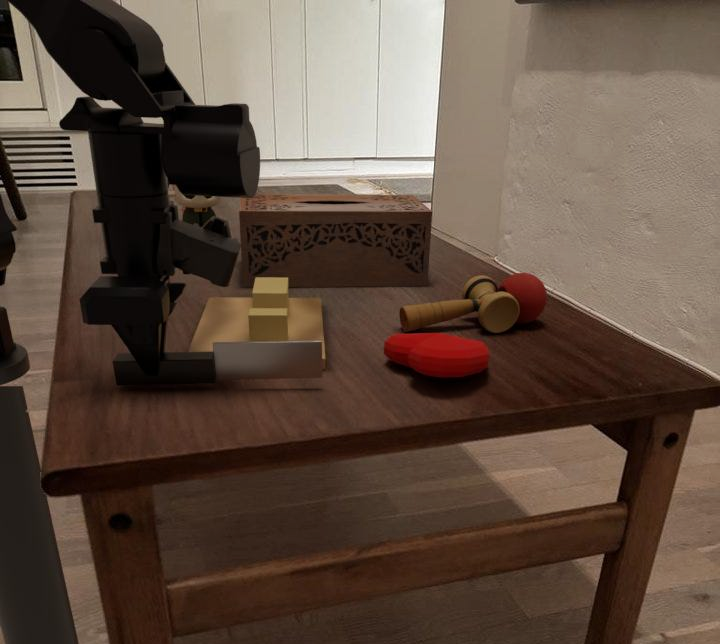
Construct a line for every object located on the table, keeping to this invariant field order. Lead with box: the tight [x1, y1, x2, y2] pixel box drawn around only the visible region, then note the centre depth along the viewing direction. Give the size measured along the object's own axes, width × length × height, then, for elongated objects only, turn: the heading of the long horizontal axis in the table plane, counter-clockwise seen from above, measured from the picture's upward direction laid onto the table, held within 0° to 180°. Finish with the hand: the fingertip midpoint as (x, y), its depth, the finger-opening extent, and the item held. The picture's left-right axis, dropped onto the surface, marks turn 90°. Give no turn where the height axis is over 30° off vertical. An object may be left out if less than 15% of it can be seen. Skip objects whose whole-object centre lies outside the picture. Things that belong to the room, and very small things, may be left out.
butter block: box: [251, 277, 290, 310], centre depth 88 cm, size 4×7×3 cm, turn 4°
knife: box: [112, 340, 324, 387], centre depth 68 cm, size 19×2×4 cm, turn 94°
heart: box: [383, 332, 490, 378], centre depth 74 cm, size 12×4×10 cm
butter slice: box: [248, 308, 288, 341], centre depth 78 cm, size 4×2×3 cm, turn 94°
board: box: [187, 296, 327, 371], centre depth 84 cm, size 14×22×1 cm, turn 4°
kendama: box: [398, 272, 548, 334], centre depth 87 cm, size 8×6×18 cm
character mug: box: [168, 185, 221, 227], centre depth 119 cm, size 11×7×13 cm, turn 106°
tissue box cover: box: [238, 193, 433, 289], centre depth 106 cm, size 26×14×10 cm, turn 97°
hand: (154, 370), depth 68 cm, fingers closed on knife, 2 cm apart
